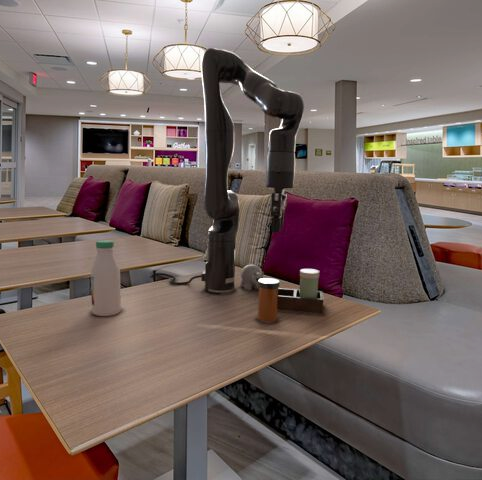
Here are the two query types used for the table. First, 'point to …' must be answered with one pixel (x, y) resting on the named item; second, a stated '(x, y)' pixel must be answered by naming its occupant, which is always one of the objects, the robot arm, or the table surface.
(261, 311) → the amber jar
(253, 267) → the chubby cartoon animal
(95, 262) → the milk bottle
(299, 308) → the jar stand
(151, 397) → the table surface
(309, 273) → the green jar
